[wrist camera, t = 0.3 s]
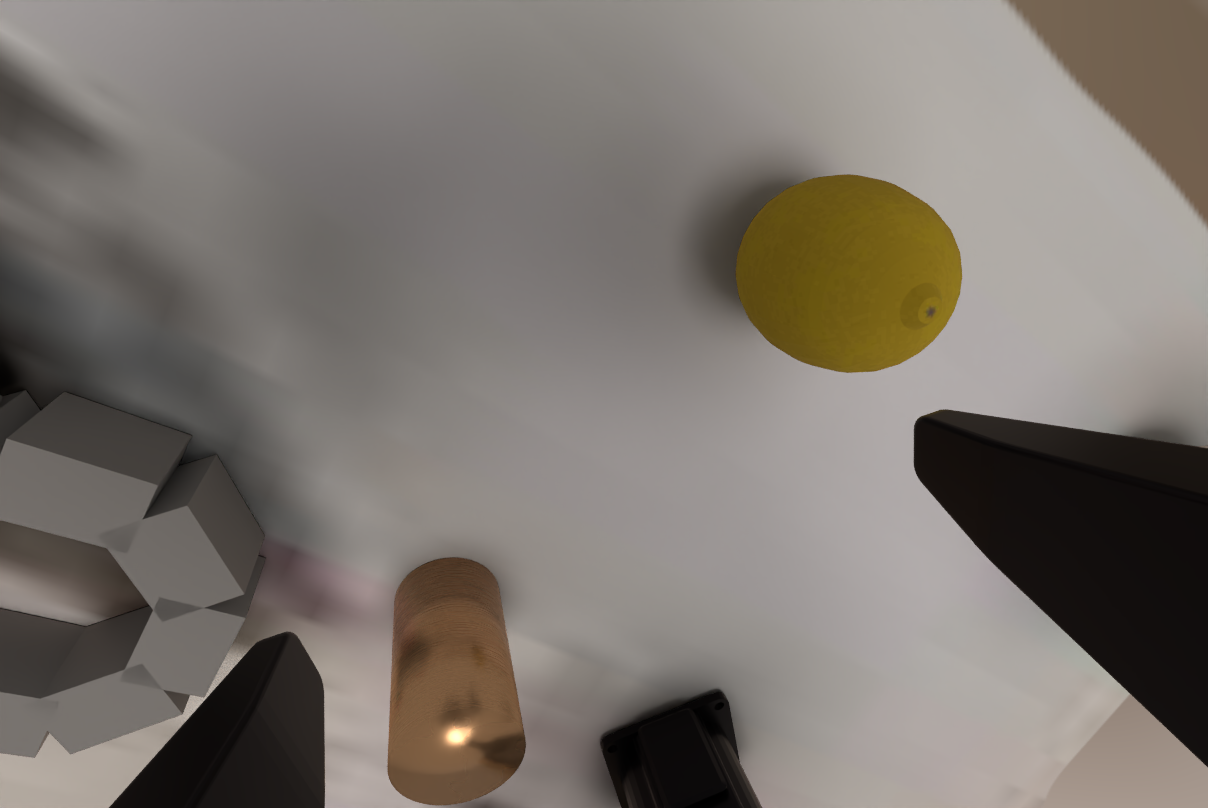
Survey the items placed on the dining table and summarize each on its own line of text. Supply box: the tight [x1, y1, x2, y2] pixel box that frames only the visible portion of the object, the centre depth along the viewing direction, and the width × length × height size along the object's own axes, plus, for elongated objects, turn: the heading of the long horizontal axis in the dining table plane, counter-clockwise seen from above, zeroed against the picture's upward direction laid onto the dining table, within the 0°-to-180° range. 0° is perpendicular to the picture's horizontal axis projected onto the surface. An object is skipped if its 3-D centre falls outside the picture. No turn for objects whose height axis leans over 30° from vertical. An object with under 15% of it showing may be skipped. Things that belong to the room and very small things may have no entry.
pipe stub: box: [388, 558, 526, 805], centre depth 22 cm, size 4×4×7 cm
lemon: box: [736, 175, 962, 373], centre depth 19 cm, size 6×6×8 cm
